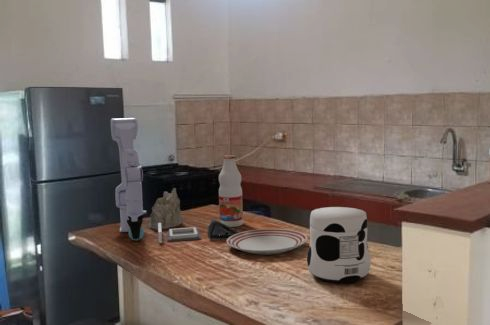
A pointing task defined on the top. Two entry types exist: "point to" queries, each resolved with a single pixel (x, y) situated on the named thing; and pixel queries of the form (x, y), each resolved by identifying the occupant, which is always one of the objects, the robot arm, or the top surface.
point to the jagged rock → (166, 211)
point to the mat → (183, 234)
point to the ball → (139, 236)
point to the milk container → (338, 244)
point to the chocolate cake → (220, 231)
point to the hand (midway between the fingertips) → (136, 236)
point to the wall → (159, 232)
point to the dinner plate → (267, 241)
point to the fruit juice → (230, 193)
